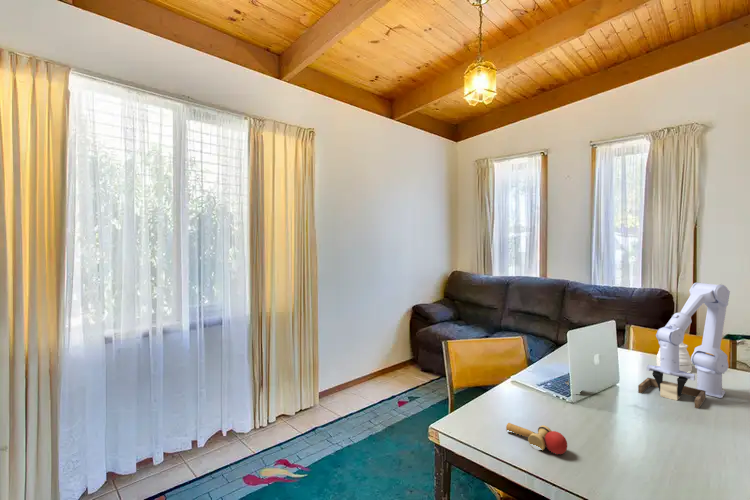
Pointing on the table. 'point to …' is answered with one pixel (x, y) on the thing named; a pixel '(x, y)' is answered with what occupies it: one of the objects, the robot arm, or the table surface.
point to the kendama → (542, 438)
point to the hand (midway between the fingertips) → (670, 393)
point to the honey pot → (681, 358)
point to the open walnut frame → (686, 390)
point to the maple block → (669, 390)
